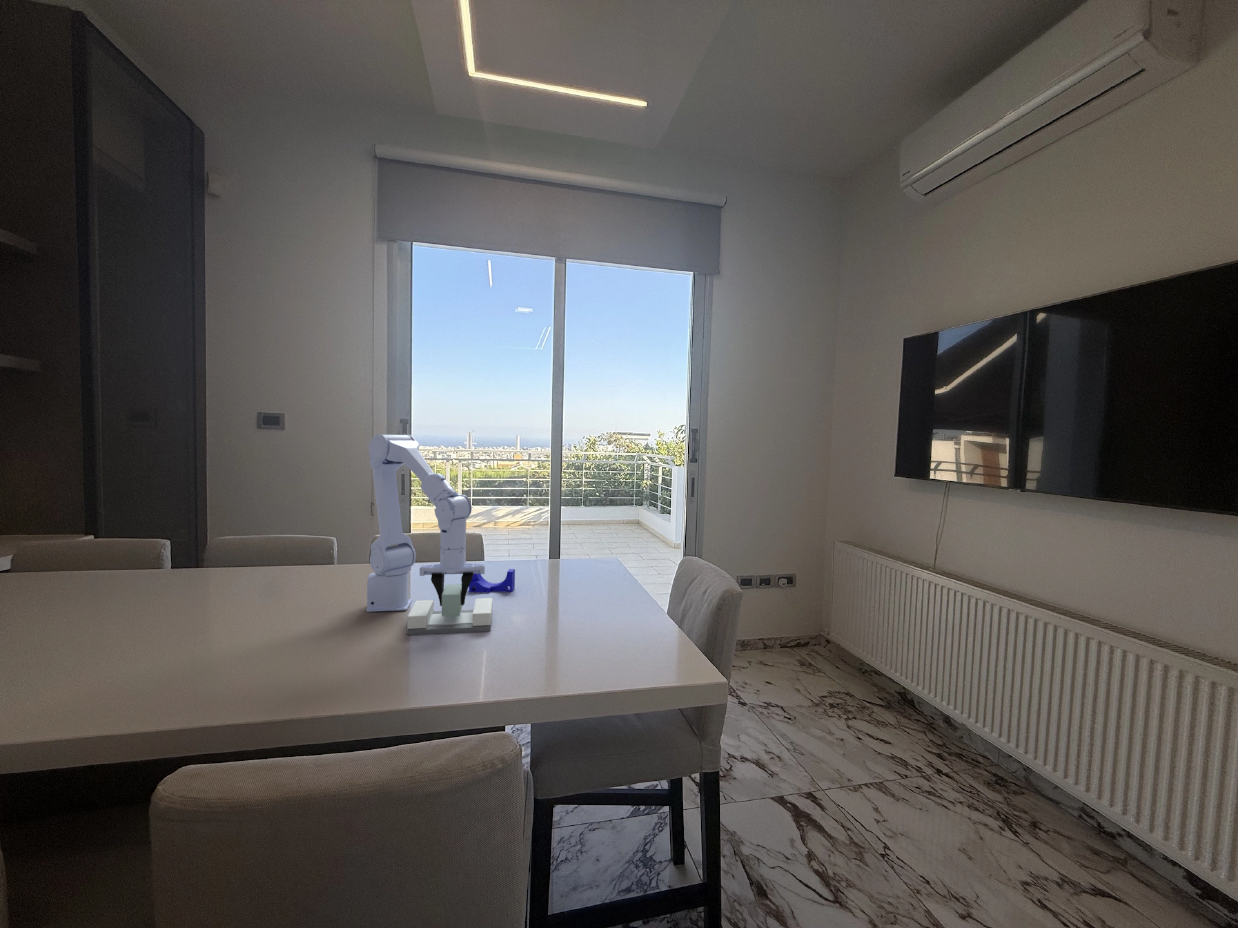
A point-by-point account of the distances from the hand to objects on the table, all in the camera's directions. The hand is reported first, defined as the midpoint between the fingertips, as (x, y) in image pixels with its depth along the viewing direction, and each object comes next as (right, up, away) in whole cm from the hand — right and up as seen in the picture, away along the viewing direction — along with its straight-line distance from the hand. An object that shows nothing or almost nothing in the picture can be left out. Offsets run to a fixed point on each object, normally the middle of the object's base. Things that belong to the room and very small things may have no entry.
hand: (452, 604), depth 123 cm
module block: (0, -2, 0) cm, 2 cm away
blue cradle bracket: (+3, -4, +27) cm, 27 cm away
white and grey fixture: (0, -5, 0) cm, 5 cm away
